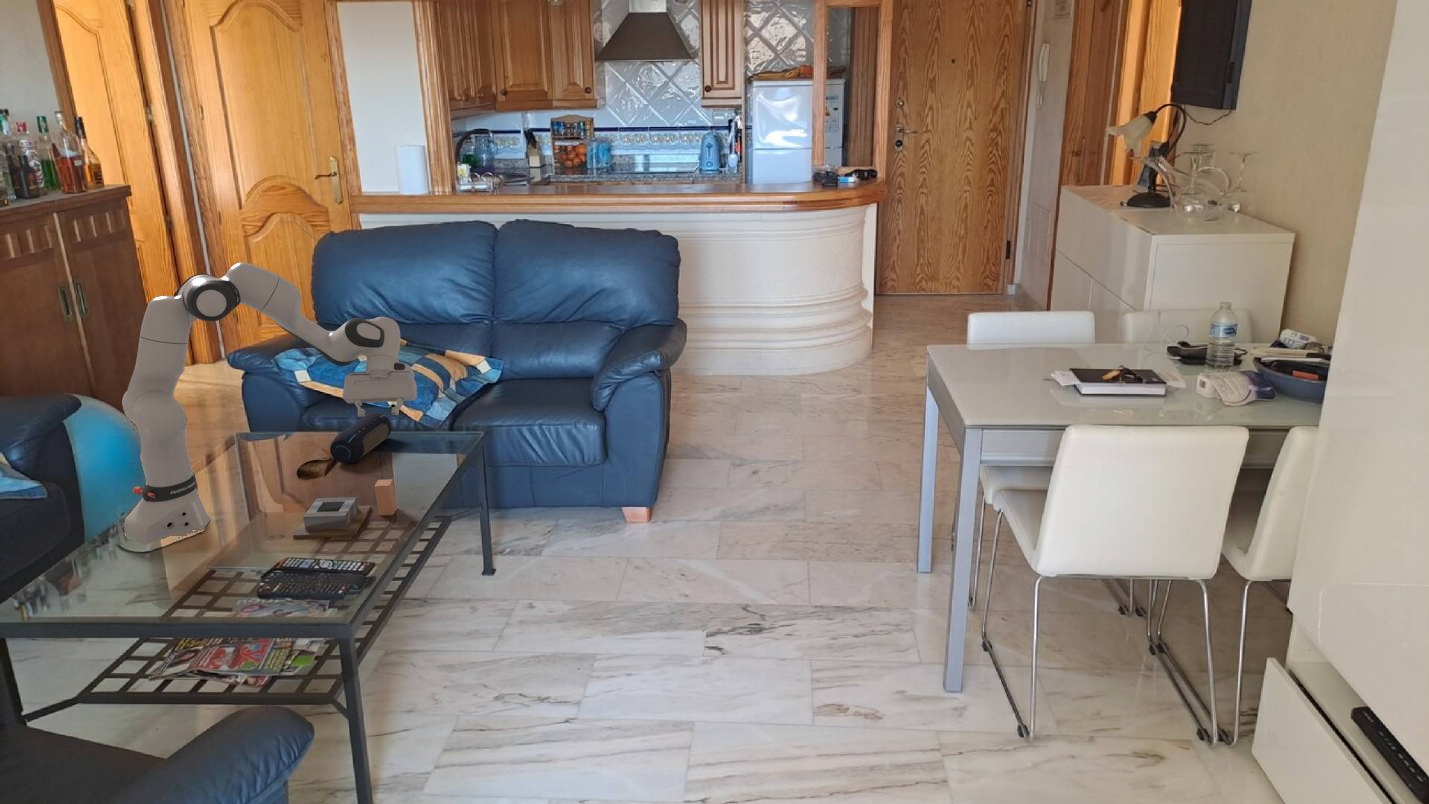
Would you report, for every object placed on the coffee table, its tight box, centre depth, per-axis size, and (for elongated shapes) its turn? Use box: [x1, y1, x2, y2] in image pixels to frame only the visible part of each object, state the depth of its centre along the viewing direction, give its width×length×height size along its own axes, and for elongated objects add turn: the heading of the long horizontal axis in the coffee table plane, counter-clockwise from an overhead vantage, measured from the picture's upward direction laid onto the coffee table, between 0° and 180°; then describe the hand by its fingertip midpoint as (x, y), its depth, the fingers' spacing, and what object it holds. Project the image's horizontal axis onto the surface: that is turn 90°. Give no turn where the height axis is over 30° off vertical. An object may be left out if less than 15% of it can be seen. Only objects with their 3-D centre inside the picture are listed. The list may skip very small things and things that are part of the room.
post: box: [374, 478, 398, 516], centre depth 270 cm, size 4×4×9 cm
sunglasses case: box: [296, 445, 337, 479], centre depth 302 cm, size 18×7×7 cm
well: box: [292, 496, 372, 539], centre depth 265 cm, size 16×16×5 cm
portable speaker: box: [329, 411, 392, 464], centre depth 310 cm, size 25×10×10 cm, turn 169°
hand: (378, 415), depth 275 cm, fingers open, 8 cm apart
